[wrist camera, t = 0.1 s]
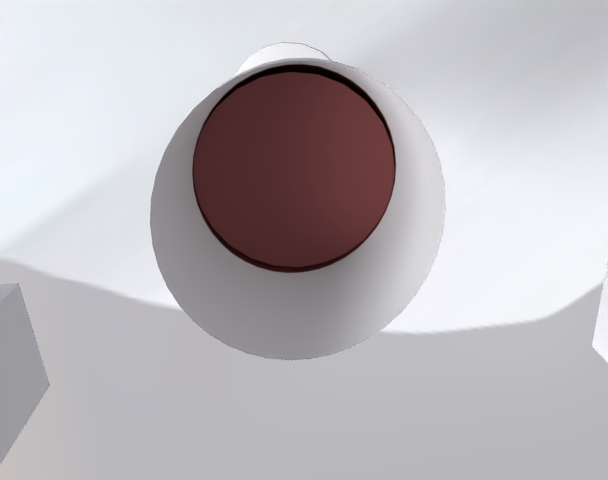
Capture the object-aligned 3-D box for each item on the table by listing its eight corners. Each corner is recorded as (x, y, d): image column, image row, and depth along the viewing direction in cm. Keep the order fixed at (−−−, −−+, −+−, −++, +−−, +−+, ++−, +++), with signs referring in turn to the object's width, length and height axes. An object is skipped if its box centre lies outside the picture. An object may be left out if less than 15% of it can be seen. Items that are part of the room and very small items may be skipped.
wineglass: (369, 49, 36) (491, 100, 15) (334, 186, 40) (392, 378, 19) (237, 17, 35) (172, 24, 14) (213, 161, 39) (134, 336, 18)
